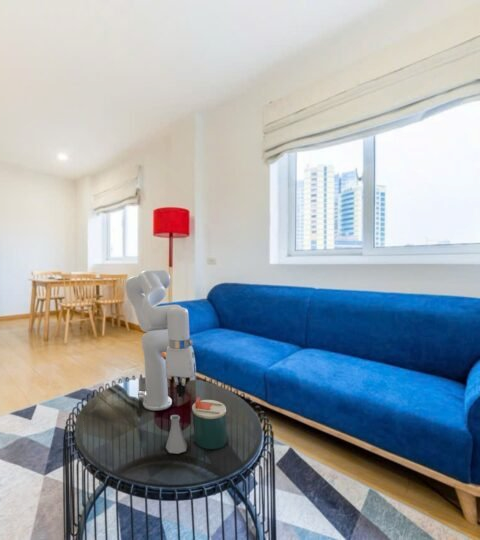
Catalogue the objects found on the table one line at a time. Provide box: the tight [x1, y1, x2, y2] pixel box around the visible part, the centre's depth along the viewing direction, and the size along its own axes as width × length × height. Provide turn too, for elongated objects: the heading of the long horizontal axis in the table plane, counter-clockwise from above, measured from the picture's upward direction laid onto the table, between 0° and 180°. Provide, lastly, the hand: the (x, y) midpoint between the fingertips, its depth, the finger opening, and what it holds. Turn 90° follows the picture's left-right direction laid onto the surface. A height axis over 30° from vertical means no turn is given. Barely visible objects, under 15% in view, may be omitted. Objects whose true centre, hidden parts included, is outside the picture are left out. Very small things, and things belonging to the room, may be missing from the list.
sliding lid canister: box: [191, 399, 228, 450], centre depth 98 cm, size 11×11×11 cm
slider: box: [194, 396, 212, 410], centre depth 98 cm, size 5×4×2 cm
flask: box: [165, 414, 188, 455], centre depth 94 cm, size 7×7×10 cm
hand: (181, 395), depth 101 cm, fingers closed
